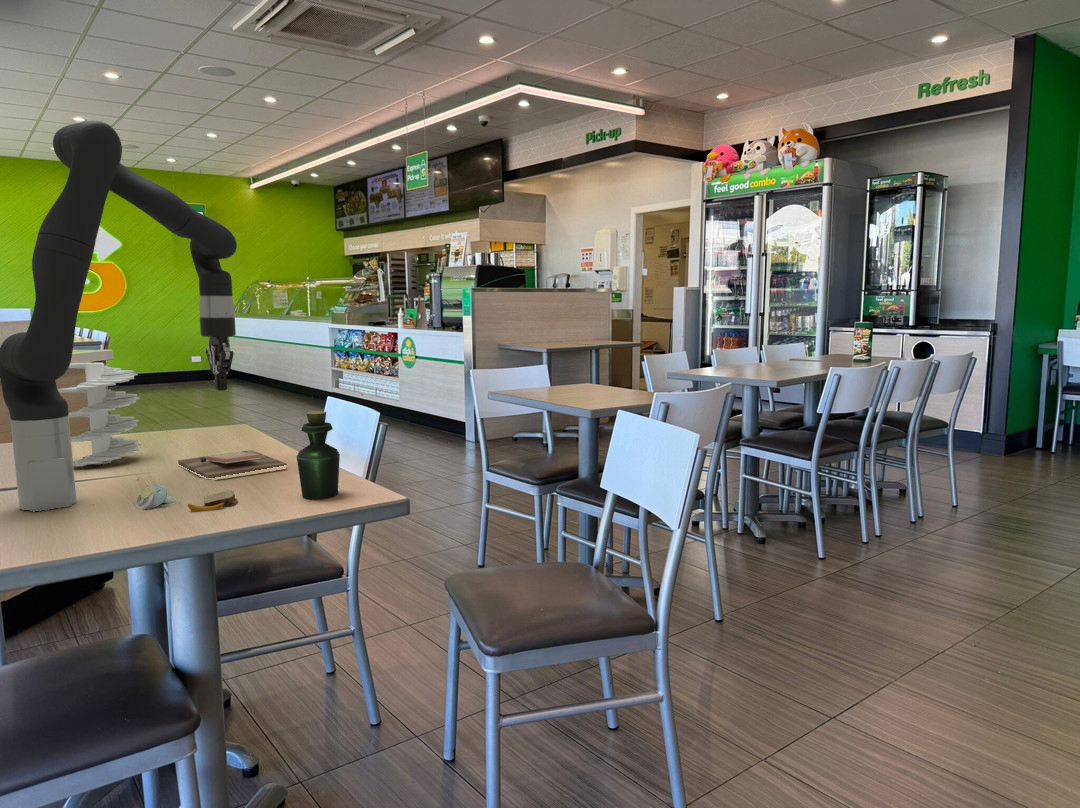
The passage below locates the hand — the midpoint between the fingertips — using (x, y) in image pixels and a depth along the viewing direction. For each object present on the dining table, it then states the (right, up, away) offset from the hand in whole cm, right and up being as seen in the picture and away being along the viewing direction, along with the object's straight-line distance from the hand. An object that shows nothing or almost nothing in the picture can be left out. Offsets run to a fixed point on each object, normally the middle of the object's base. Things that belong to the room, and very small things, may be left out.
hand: (221, 390), depth 173 cm
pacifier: (0, -25, -33) cm, 41 cm away
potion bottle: (+31, -23, -27) cm, 47 cm away
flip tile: (+2, -16, +3) cm, 16 cm away
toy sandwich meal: (+12, -24, -33) cm, 43 cm away
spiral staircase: (-34, -18, +11) cm, 40 cm away
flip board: (+1, -19, +4) cm, 19 cm away
